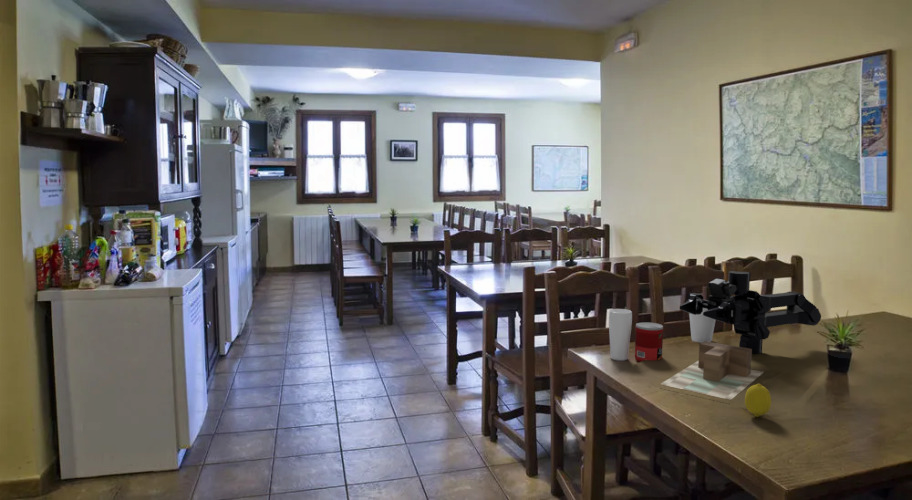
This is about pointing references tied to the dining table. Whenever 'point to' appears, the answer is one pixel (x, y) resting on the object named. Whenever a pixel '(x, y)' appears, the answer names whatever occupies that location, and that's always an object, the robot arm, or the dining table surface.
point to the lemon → (758, 400)
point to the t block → (723, 360)
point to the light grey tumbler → (619, 333)
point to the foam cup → (701, 327)
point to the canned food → (648, 341)
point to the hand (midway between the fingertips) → (691, 310)
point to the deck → (710, 382)
